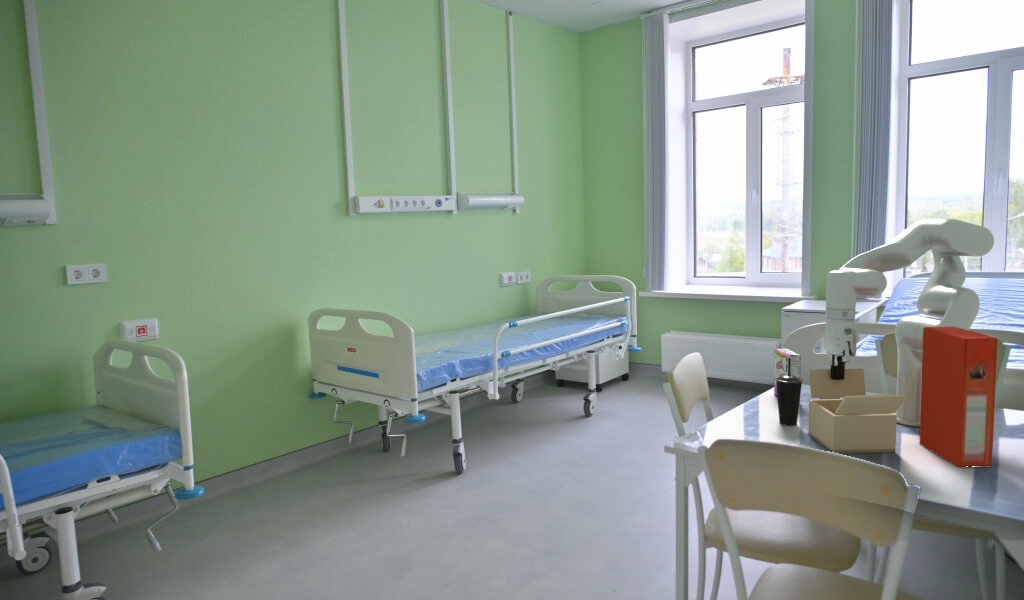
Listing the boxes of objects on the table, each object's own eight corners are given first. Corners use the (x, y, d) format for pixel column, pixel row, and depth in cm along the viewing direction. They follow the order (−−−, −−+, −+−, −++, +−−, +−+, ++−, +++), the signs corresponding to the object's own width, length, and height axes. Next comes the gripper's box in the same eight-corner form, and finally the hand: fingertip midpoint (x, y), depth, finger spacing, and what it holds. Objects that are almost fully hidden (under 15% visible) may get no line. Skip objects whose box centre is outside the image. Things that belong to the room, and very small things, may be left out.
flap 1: (866, 396, 189) (864, 396, 189) (863, 368, 190) (862, 368, 191) (812, 398, 189) (811, 398, 190) (809, 369, 191) (808, 369, 191)
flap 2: (905, 394, 168) (906, 396, 168) (893, 411, 174) (894, 413, 174) (845, 395, 169) (845, 397, 168) (835, 412, 175) (835, 414, 174)
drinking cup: (804, 427, 197) (806, 361, 195) (777, 426, 198) (778, 360, 196) (799, 420, 204) (800, 355, 202) (772, 419, 206) (773, 355, 204)
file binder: (957, 467, 163) (963, 338, 159) (918, 444, 180) (923, 326, 176) (991, 467, 163) (998, 337, 159) (949, 443, 180) (954, 326, 176)
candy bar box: (772, 394, 234) (773, 348, 232) (787, 394, 233) (788, 348, 231) (785, 403, 222) (786, 355, 220) (800, 403, 222) (801, 354, 220)
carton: (865, 432, 191) (866, 398, 190) (895, 452, 175) (896, 414, 174) (808, 433, 191) (809, 399, 190) (833, 453, 176) (834, 416, 174)
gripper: (867, 318, 179) (864, 385, 181) (841, 311, 194) (838, 373, 196) (839, 318, 179) (836, 385, 181) (815, 311, 194) (812, 373, 196)
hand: (837, 379), depth 189 cm, fingers closed
